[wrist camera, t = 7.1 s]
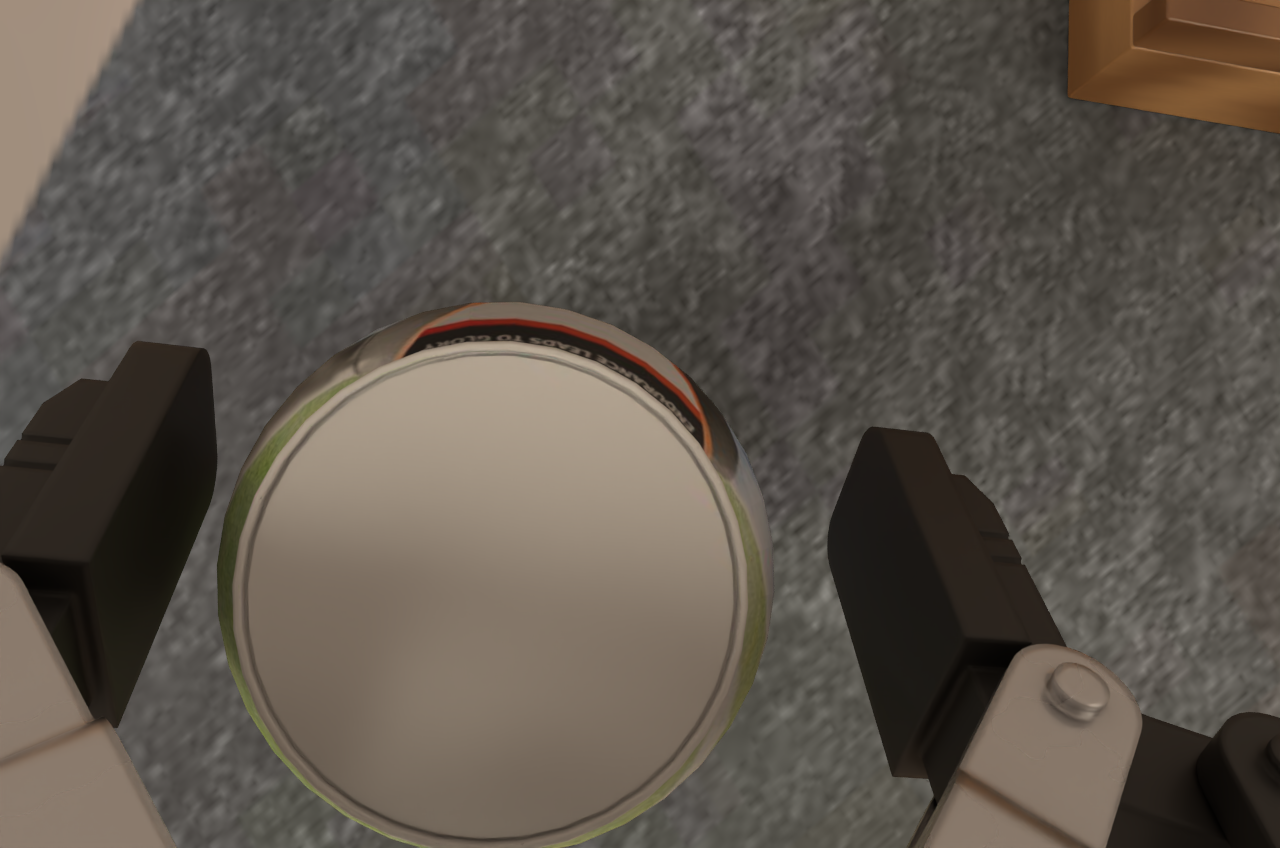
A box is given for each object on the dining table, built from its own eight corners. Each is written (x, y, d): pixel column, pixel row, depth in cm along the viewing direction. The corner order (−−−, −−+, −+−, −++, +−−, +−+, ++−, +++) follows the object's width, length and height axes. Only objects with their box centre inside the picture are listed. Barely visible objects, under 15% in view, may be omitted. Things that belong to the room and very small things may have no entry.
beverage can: (705, 448, 22) (974, 310, 11) (568, 777, 21) (709, 1032, 9) (435, 325, 22) (411, 37, 10) (275, 656, 20) (32, 765, 9)
